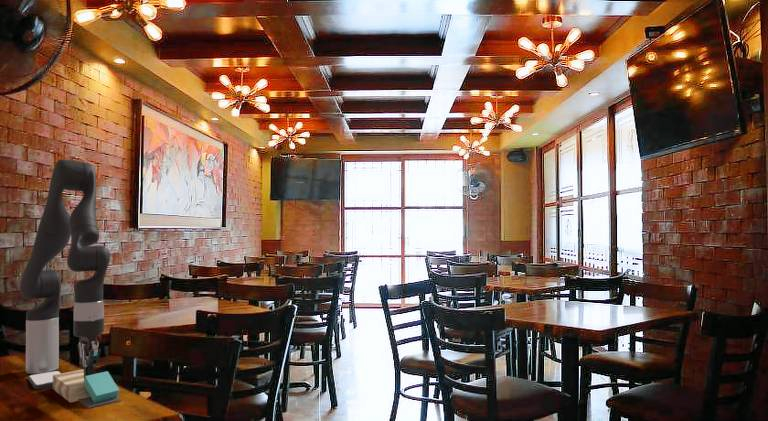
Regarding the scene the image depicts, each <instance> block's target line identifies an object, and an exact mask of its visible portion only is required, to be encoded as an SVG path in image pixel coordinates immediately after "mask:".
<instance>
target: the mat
mask: <svg viewBox="0 0 768 421" xmlns="http://www.w3.org/2000/svg"><path fill="white" fill-rule="evenodd" d="M119 400H121V401H122V399H121V398H120V397H119V396H117V397H116V398H112V399H108V400H104V401H100V402H96V403H94V401H93V400H92V398H91V397H87V398H82V399H78V401H77V402H79V403H80V404H82V406H84V407H86V408H87V409H92V408H97V407H101V406H106V405H111V404H114V403H113V402H115V403H117V402H116V401H119ZM119 402H120V401H119ZM110 403H111V404H110Z"/></svg>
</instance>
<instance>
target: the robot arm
mask: <svg viewBox="0 0 768 421" xmlns="http://www.w3.org/2000/svg"><path fill="white" fill-rule="evenodd" d="M65 190H66V191H73V192H74V191H75V192H82V194H83V196H82V198H81V200H80V201H79V202H78V204H77V205H76V206H75V207H74V208H73V210H72V212H71V213H69V211H68V210H67V208H66V205H65V203H64V200H63V192H64V191H65ZM96 205H97V174H96V169H95V167H94V165H93V164H91V163H89V162H84V161H78V160H71V159H59V160H57V161H56V162H55V165H54V167H53V170H52V174H51V178H50V183H49V189H48V192H47V198H46V202H45V205H44V209H43V213H42V216H41V218H40V221H39V224H38V227H37V231H36V233H35V234H36V235H35V239H34V243H33V246H32V250H31V252H30V256H29V258H28V261H27V263H26V265H25V268H24V270H23V272H22V276H21V279H20V284H19V292H20V296H21V297H22V298H24V299H27V300H36V299H43V301H42V302H41V303H39V304H38V305H37V306H35V307H33V308H31V309H28V310H27V311H26V314H25V373H26V374H30V375H35V374H41V373H48V372H54V371H56V370H58V369H59V368H60V367H59V365H60V363H59V361H60V360H59V358H60V356H59V355H60V349H59V348H60V346H59V345H60V343H59V342H60V341H59V340H60V330H59V329H60V325H59V320H60V309H61V308H60V307H61V292H62V291H61V290H62V279H61V274H60V272H59V271H58V270H56V269H45V267H46V266H47V265H48V263H50V262H51V260H54V258H55V257H56V256H58V255H59V254H60V253H61V252H62V251H63V250H64V249H65V248H66V247H67V245H68V244H69V241H70V247H69V251H68V254H67V259H66V264H67V267H68V268H69V269H70V270H71V271H72V272H74V273H81V272H82V273H83V272H94V274H93V275H92V276H91V277H89V278H86V279H81V280H78V281H77V282H76V283H74V304H73V305H74V306H73V311H72V312H73V314H72V315H73V319H72V320H73V324H72V325H73V331H72V332H73V333H72V334H73V336H74V337H77V338H78V337H79V338H80V341H79V342H78V343H77V344H76V345H77V349H78V355H79V359H80V363H81V365H82V367H83V370H84V379H85V376H88V375H93V374H95V366H96V365H98V362H99V358H100V356H101V352H102V350H101V349H102V348H99V346H100V345H99V344H100V342H99V340H98V335H99V336H100V335H102V334H104V332H105V304H104V283H105V278H106V274H107V271H108V268H109V265H110V262H111V252H110V251H109V249H108V248H107V247H106V246H103V245H94V244H96V243H97V242H98V241H99V239H100V231H99V227H98V226H99V225H98V220H97V213H96V211H97V208H96V207H97V206H96Z"/></svg>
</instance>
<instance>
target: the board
mask: <svg viewBox="0 0 768 421" xmlns="http://www.w3.org/2000/svg"><path fill="white" fill-rule="evenodd" d="M83 382H84V369H78V370H74V371H73V370H72V371H67V372H62V373H61V374H56V375H53V387H52V390H54V391H55V392H56V393H57V394H58V395H59V396H61V397H63V398H64V399H65V400H66V401H68V402H69V403H70V404H71V403H75V402H79V401H78V399H82V398H87V397H91V396H90V394H89V393H88V391H87V389H86V387H85V386H84V384H83Z"/></svg>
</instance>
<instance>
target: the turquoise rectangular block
mask: <svg viewBox="0 0 768 421" xmlns="http://www.w3.org/2000/svg"><path fill="white" fill-rule="evenodd" d="M83 384H84V386H85V387H86V389H87V391H88V393H89V394H90V396H91V398H92V400H93V401H94V403H96V402H100V401H104V400H108V399H112V398H116V397H119V396H118V395H119V393H120V389H119V387H118V385H117V383H116V382H115V381H114V378H113V377H112V375H111V374H110V372H109V371H108V370H107V371H103V372H96V373H94V374H93V375H88V376H85V379H84V382H83Z"/></svg>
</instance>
